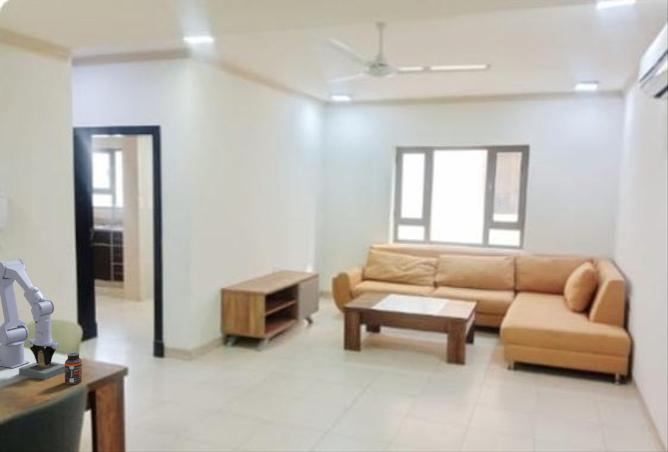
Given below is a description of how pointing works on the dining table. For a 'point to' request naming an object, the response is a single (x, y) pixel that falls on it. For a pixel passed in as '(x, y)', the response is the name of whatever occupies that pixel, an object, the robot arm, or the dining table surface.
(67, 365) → the supplement bottle
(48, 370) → the board
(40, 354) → the peg
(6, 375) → the dining table surface
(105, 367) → the dining table surface
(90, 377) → the dining table surface
